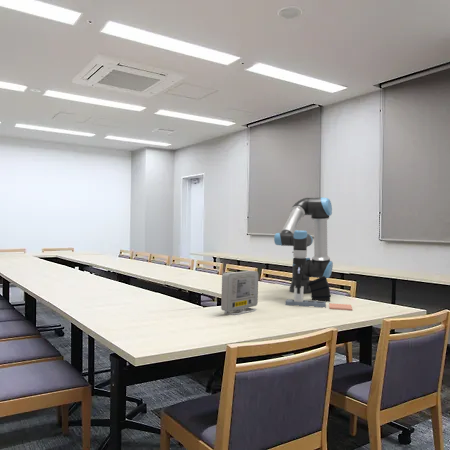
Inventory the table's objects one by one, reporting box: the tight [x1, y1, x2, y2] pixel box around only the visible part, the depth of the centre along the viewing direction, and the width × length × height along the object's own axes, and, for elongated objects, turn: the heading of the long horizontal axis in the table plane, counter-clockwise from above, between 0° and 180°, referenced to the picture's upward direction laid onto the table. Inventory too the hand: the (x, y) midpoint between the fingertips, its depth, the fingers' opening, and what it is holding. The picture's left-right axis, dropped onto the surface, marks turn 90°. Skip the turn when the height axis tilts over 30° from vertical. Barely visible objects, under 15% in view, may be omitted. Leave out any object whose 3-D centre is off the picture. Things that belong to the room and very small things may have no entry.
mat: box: [328, 302, 353, 311], centre depth 238 cm, size 14×12×1 cm
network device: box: [220, 270, 259, 316], centre depth 217 cm, size 26×9×20 cm, turn 141°
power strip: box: [284, 298, 327, 308], centre depth 242 cm, size 8×22×2 cm, turn 77°
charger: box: [293, 286, 304, 302], centre depth 243 cm, size 4×5×10 cm
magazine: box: [308, 276, 332, 302], centre depth 260 cm, size 4×13×15 cm, turn 66°
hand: (298, 298), depth 243 cm, fingers closed on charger, 4 cm apart
